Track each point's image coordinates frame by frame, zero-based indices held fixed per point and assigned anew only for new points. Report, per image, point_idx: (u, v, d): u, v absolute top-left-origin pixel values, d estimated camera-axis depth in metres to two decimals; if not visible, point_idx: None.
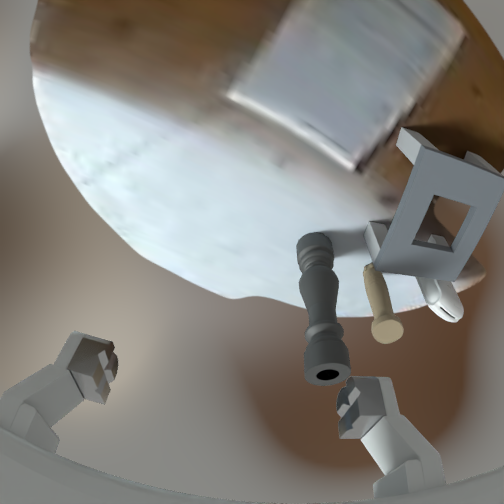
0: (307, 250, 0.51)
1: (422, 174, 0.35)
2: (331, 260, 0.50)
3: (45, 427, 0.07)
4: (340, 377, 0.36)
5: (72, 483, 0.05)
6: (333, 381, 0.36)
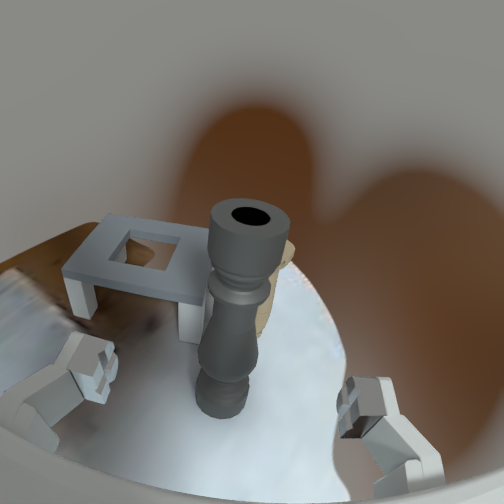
0: (204, 393, 0.33)
1: (84, 269, 0.38)
2: None
3: (45, 427, 0.07)
4: (256, 205, 0.24)
5: (72, 483, 0.05)
6: (272, 211, 0.24)
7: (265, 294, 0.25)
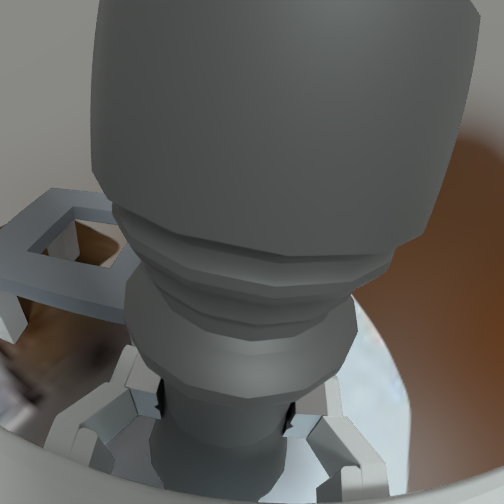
0: None
1: None
2: None
3: (104, 449, 0.07)
4: None
5: (72, 483, 0.05)
6: None
7: (346, 338, 0.06)
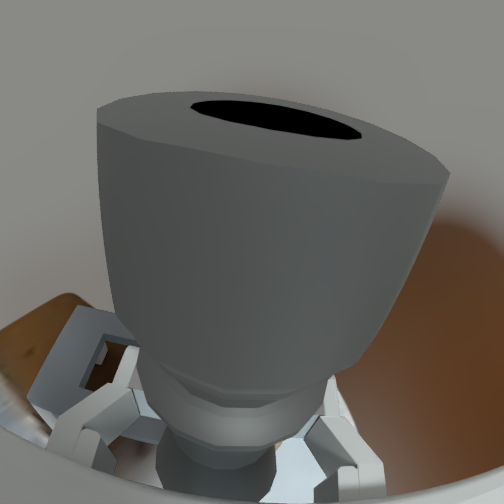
0: None
1: (52, 401, 0.26)
2: None
3: (107, 450, 0.07)
4: (272, 102, 0.06)
5: (72, 483, 0.05)
6: (330, 114, 0.06)
7: (322, 383, 0.08)
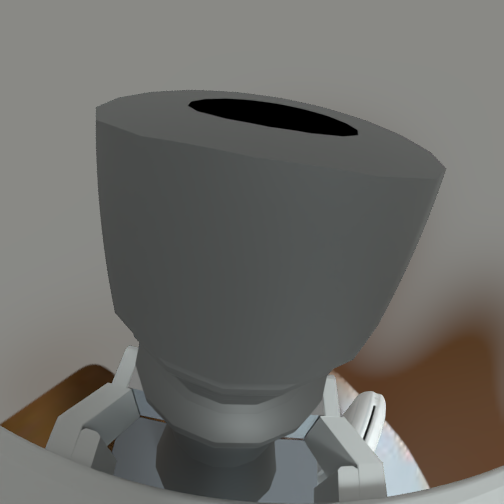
0: None
1: None
2: None
3: (106, 450, 0.07)
4: (270, 100, 0.06)
5: (72, 483, 0.05)
6: (327, 112, 0.06)
7: (320, 380, 0.08)
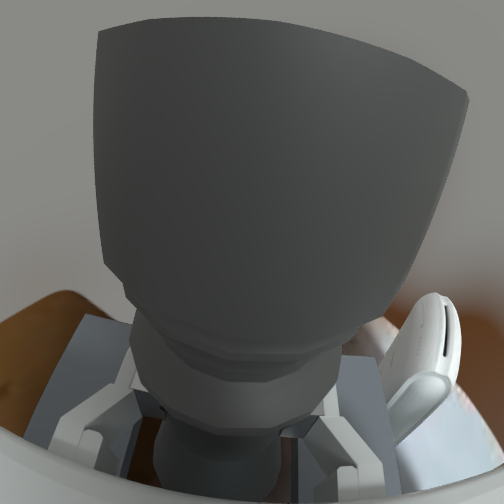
0: None
1: None
2: None
3: (109, 451, 0.07)
4: None
5: (72, 483, 0.05)
6: None
7: (335, 358, 0.07)
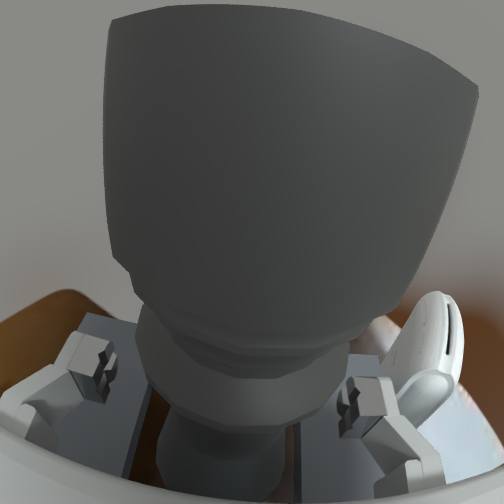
0: None
1: None
2: None
3: (45, 427, 0.07)
4: None
5: (72, 483, 0.05)
6: None
7: (343, 354, 0.07)
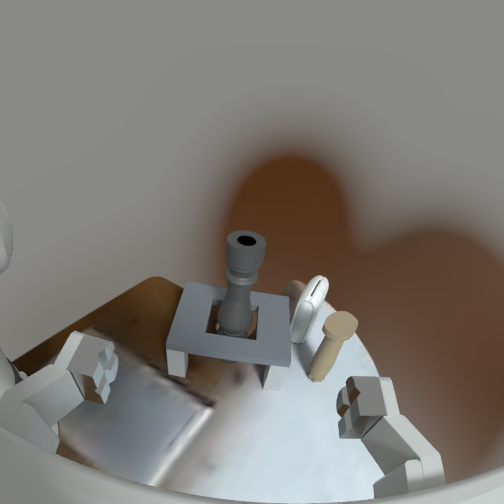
0: None
1: (188, 343, 0.49)
2: None
3: (45, 427, 0.07)
4: (247, 234, 0.47)
5: (72, 483, 0.05)
6: (255, 236, 0.47)
7: (256, 278, 0.49)
